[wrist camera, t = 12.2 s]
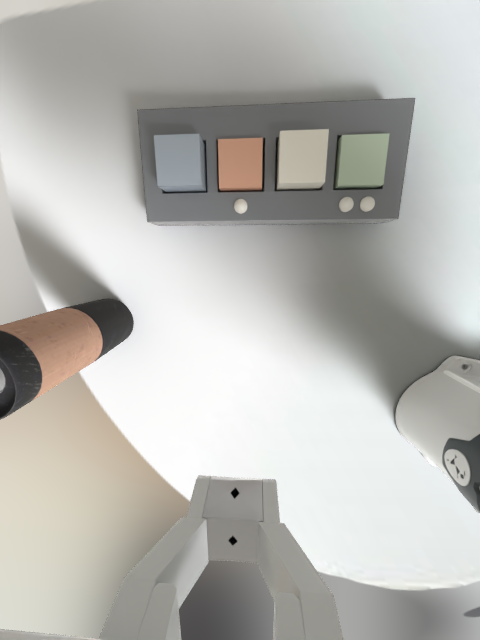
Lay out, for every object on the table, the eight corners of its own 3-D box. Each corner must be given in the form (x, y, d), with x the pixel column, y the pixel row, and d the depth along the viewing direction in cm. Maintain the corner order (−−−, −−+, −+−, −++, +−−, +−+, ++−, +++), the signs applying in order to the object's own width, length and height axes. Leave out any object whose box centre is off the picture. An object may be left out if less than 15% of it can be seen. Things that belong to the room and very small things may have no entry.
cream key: (319, 145, 30) (328, 128, 26) (316, 191, 31) (325, 182, 27) (277, 146, 30) (280, 130, 26) (275, 192, 31) (278, 183, 28)
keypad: (395, 117, 31) (417, 96, 26) (381, 222, 34) (399, 218, 29) (151, 127, 33) (136, 108, 28) (159, 225, 35) (146, 221, 31)
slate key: (206, 149, 31) (199, 133, 27) (207, 193, 32) (201, 185, 28) (166, 150, 31) (153, 135, 27) (169, 194, 32) (157, 185, 28)
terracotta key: (262, 152, 32) (262, 137, 28) (261, 195, 33) (261, 187, 29) (222, 153, 32) (217, 139, 28) (223, 196, 33) (219, 188, 29)
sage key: (373, 148, 31) (389, 133, 27) (368, 193, 32) (383, 184, 28) (331, 150, 31) (342, 135, 27) (328, 194, 32) (337, 185, 29)
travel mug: (141, 338, 40) (33, 416, 21) (98, 347, 41) (-45, 430, 21) (126, 291, 38) (-8, 328, 19) (81, 302, 39) (-92, 347, 20)
